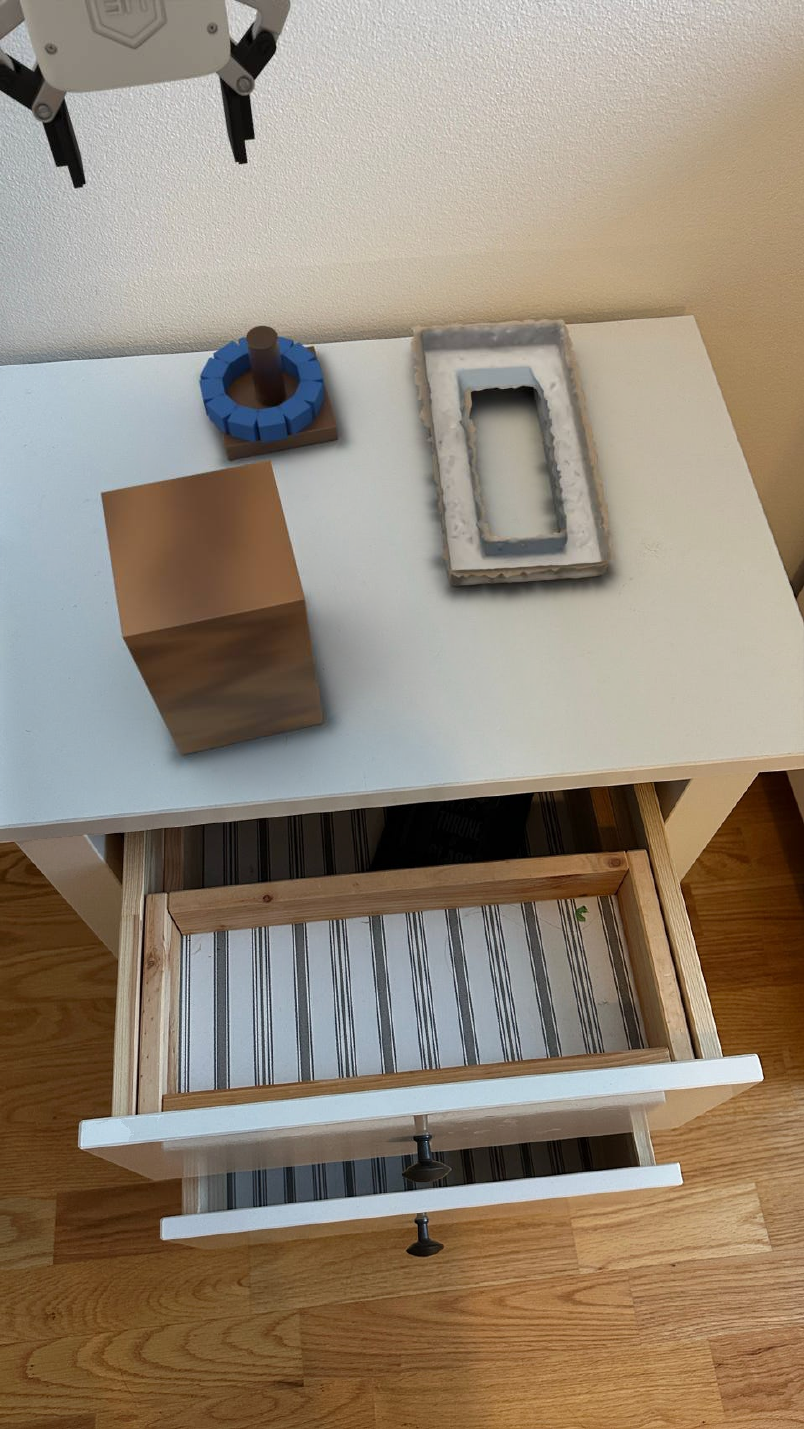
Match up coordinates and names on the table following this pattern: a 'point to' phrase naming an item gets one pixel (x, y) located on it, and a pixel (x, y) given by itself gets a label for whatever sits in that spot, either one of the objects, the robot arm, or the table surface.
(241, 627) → the stand
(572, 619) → the table surface
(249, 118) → the robot arm
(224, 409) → the ring
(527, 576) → the picture frame
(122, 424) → the table surface
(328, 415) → the post
